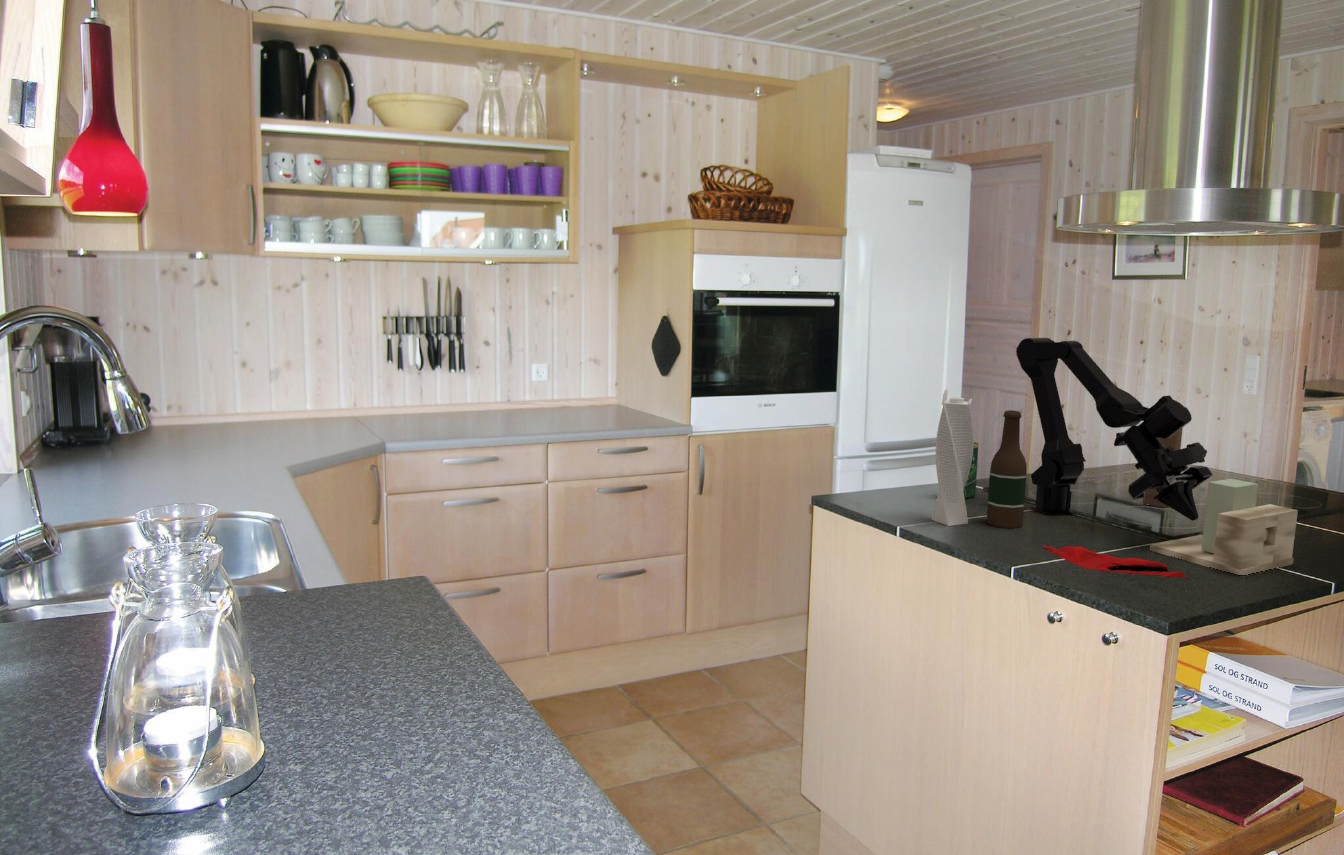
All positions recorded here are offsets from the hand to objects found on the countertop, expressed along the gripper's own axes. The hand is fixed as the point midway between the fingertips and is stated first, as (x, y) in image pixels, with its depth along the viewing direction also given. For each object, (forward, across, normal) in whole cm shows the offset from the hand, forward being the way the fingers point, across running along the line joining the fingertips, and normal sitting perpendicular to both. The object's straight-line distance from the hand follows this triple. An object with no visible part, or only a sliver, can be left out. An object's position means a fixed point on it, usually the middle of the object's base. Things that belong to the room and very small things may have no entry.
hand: (1195, 519), depth 183 cm
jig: (+9, 0, 0) cm, 9 cm away
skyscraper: (-21, -27, +30) cm, 46 cm away
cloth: (+4, -22, +6) cm, 24 cm away
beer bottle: (-16, -18, +26) cm, 35 cm away
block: (+9, 0, -3) cm, 10 cm away
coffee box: (-31, -9, +41) cm, 52 cm away
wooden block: (-14, +30, +24) cm, 41 cm away
